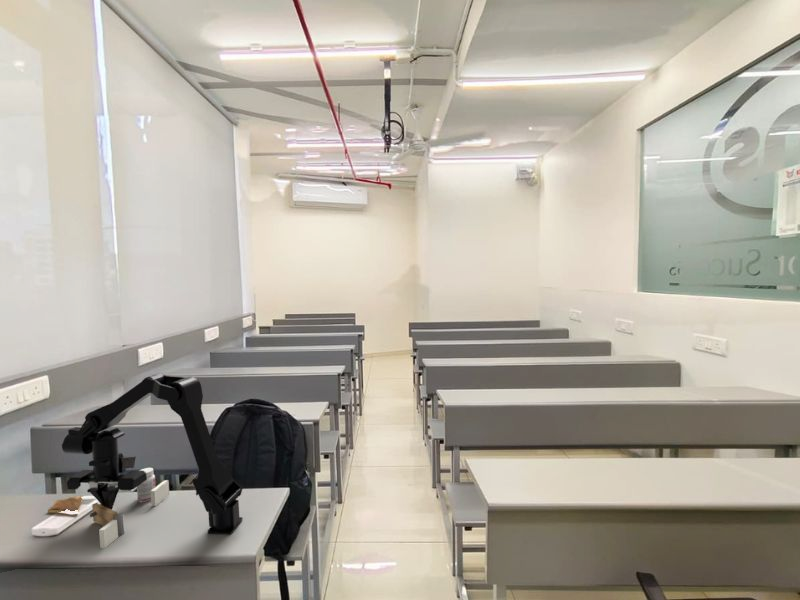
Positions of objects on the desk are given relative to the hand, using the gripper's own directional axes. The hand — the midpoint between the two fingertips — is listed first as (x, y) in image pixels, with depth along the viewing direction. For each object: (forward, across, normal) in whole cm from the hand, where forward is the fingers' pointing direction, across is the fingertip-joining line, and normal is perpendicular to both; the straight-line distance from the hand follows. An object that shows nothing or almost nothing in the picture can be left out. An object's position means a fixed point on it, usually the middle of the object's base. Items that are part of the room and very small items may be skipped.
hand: (109, 510), depth 112 cm
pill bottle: (+3, -3, -11) cm, 12 cm away
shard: (+3, +16, -6) cm, 18 cm away
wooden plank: (+2, -1, +4) cm, 5 cm away
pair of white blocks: (+3, -8, -1) cm, 8 cm away
